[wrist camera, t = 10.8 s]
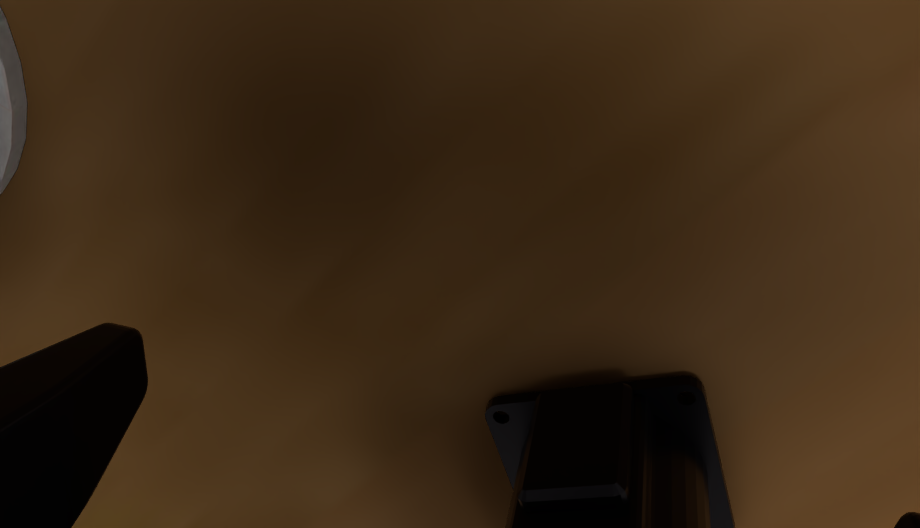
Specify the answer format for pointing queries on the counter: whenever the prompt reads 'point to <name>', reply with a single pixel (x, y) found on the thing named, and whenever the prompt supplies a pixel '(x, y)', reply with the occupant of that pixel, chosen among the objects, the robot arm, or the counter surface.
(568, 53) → the counter surface
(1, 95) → the mate gourd
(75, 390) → the robot arm
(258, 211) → the counter surface
